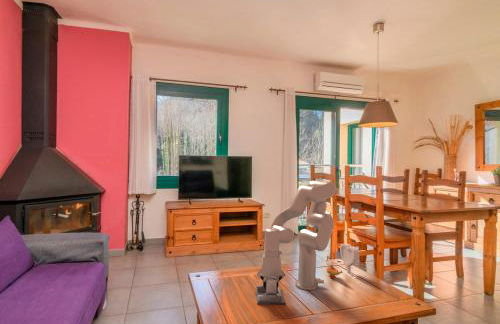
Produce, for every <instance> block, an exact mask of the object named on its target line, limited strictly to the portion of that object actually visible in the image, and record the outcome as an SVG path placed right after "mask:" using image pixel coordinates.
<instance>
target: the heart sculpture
mask: <svg viewBox="0 0 500 324" xmlns="http://www.w3.org/2000/svg"><path fill="white" fill-rule="evenodd" d="M339 251H340V252H339V253H340V256H341V258H342V261H343V262H344V265H345V267H346V269H341V270H342V272H344V273H345V274H347V275H348V276H350V277H357V276H356V275H355V274H354V273H352V271H351V269H352V268H351V267H352V266H354V265H356V264H357V263H358V261H359V259H360V251H359V249H358V248H357V247H355V246H352V245H351V244H349V243H341V244H340V246H339ZM344 273H343V274H344ZM351 273H352V274H351ZM345 274H344V275H345ZM347 275H346V276H347ZM354 275H355V276H354ZM348 276H347V277H348Z"/></svg>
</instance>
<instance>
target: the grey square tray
mask: <svg viewBox="0 0 500 324" xmlns="http://www.w3.org/2000/svg"><path fill="white" fill-rule="evenodd" d="M255 295H256V305H274V306H275V305H276V306H277V305H281V306H283V305H285V306H286V305H287V301H286V298H285V295H284V291H283V289H281V288H280V286H279V285H278V288H277V290H276V295H266V292H265V289H264V287H263V284H262V285H261V284H259V285H256V289H255Z"/></svg>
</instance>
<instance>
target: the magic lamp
mask: <svg viewBox="0 0 500 324" xmlns="http://www.w3.org/2000/svg"><path fill="white" fill-rule="evenodd" d="M329 258H330V256H329V255H326V266H327V268H326V272H327V274H329V275H327V278H329V277H330V278H329V279H331V278H336V277H337V276H338V275H340V274H344V273H343V272H341V271H339V270H338V269H337V268H335V267H334V265H333V264H329ZM336 279H337V278H336Z"/></svg>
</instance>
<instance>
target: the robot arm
mask: <svg viewBox="0 0 500 324" xmlns="http://www.w3.org/2000/svg"><path fill="white" fill-rule="evenodd" d="M336 192H337V186H336V184H335V183H333V182H331V181H327V180H326V181H325V180H318V179H317V180H311V181H309V183H308V184H307V185H305V184H303V185H300V186H299V187H298V188H297V190H296V191H295V194H294V196H293V198H292V199H291V202H290V203H289V205H288V207H286V208H285V209H284V210H282V211H281V212H280V213H278V214H277V216H276V217H275V218H274V220H273V222H272V223H271V226H270V228H266V229H265V231H264V251H263V252H264V253H263V254H262V258H261V266H260V269H259V270H258V271H257V272H256V275H257V277H259V278H260V279H261V281H262V285H263V287H264V289H265V290H266V278H267V276H270V277H276V280H277V288H278V286H279V283H280V281H281V280H283V278H284V277H286V273H285V271H283V269H282V259H281V255H282V254H283V251H282V250H280V245H281V244H289V243H292V241H294V240H295V232H294V231H293V230H292V229H291V228H289V227H285V226H284V225H285V224H286V223H287V222H288V221H290V220H292V219H295V218H298V217H301V216H302V215H303V214H304V213H305V211H306V208H307V206H308V205H309V203H311V205H310V208H309V211H308V214H307V217H306V221H305V223H306V225H307V226H308V227H309V228H312V229H309V228H303V229H300V231H299V232H298V233H297V243H298V274H297V275H298V277H297V279H296V280H295V281H294V282H295V283H294V285H295V286H296V287H297V288H298V289H301V290H304V291H314V290H316V289H318V288H319V284H322V285H323V284H325V281H324V279H321V278H320V277H319V278H317V277H316V276H317V274H316V271H317V253H316V251H318V252H323V251H325V250H326V249H327V247H328V245H329V243H330V239H331V237H332V236H331V235H332V233H333V229H334V226H335V225H334V224H335V221H334V217H332V216H331V215H330V214H328V213H326V210H327V206H328V205H327V204H328V203H327V199H330V198H332V197H333V196H334V195H335V194H336ZM313 229H314V230H313ZM316 230H318V231H316ZM277 288H276V290H277Z"/></svg>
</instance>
